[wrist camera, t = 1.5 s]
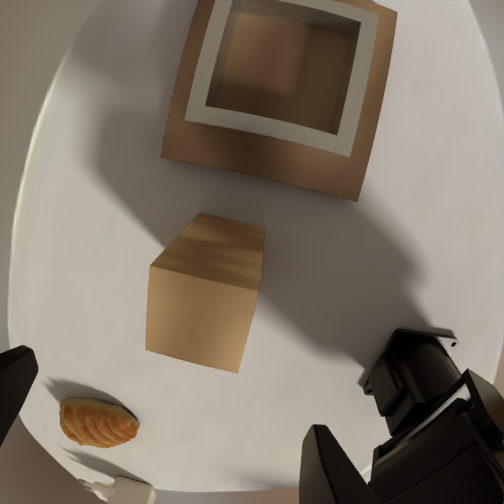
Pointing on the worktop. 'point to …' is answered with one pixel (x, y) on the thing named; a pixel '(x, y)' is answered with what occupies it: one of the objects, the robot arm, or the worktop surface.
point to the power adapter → (122, 491)
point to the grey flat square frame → (303, 12)
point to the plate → (281, 100)
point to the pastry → (96, 422)
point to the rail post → (205, 292)
